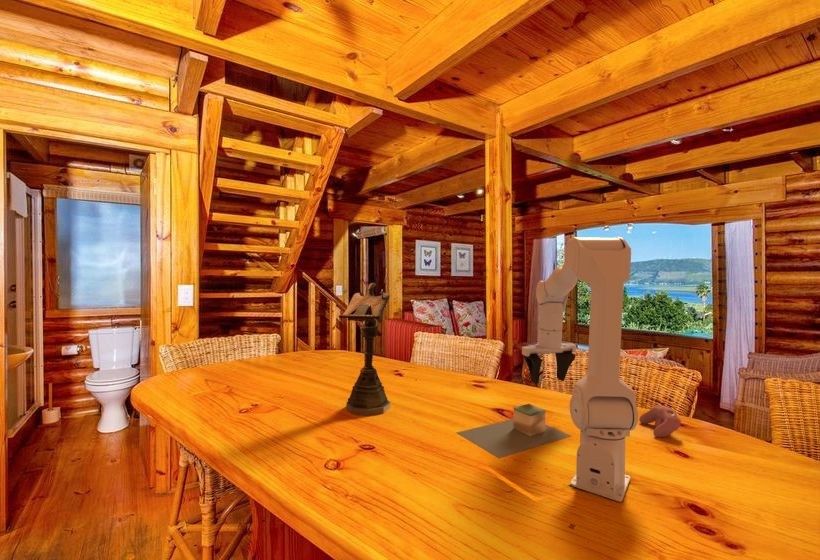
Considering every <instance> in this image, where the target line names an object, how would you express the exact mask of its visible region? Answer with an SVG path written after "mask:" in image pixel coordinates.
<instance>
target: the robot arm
mask: <svg viewBox="0 0 820 560" xmlns="http://www.w3.org/2000/svg"><path fill="white" fill-rule="evenodd" d="M564 247H565V248H564V256H563V257H564V263H563V265H562V266H557V267H556V268H555V269H554V270H553V271H552V272H551V274H550V275H549V276H548V277H547V279H546V280H538V282H537V284H536V289H535V298H536V301H537V303H538V322H537V323H538V324H537V326H538V328H537V330H538V331H537V343H536V344H530V345H526V346H525V345H524V346H521V355H522V357H523V359H524V361H525V362H526V365H527V368H528V371H529V375H530V376H529V377H530V381H531V382H532V383H533V384H535V385H539V382H540V371H541V367H542V363H543V361H544V360H543V358H540V355H547V354H548V355H550V354H554V355H555V362H556V379H557V380H559V381H561V382H565V379H566V377H567V374H568V371H569V368H570V367H571V365H572V363H573V362H574V360H575V359H576V354H575V353H576V352H577V345H576V344H574V343H572V342H566V343H565V342H564V343H563V342H562V341H563V323H564V322H563V321H564V312H565V311H566V307H567V306H566V305H567V303H568V302H567V301H568V299H569V293H570V292H571V291H572V290H573V289H574V287H575V286H576V285H577V284H578V281H581V282H584V283H586V284H587V285H588V286H589V288H590V304H589V306H590V307H589V309H590V311H589V326H588V327H589V328H588V329H589V331H588V332H589V333H588V355H587V356H588V357H587V358H588V359H587V373H586V374H585V375H584V376H582V377H581V378H580V379H579V380H577V381H576V382H574V384H573V387H572V393H571V394H572V395H571V398H570V401H569V413H570V418H571V421H572V423H573V424H574V425H575V427H576V428H577V429H578V430H579V433H580V435H579V443H580V444H579V446H578V448H577V450H576V463H575V464H576V473H575V475H574V476H573V478H571V481H570V486H571V487H573V488H577V489H580V490H584V491H586V492H588V493H592V494H595V495H599V496H601V497H604V498H607V499H611V500H614V501H616V502H623V500H624V498H625V494H626V492H627V489H628V486H629V484H630V481H631V476H630V475H628V474H626V437H630V436H631V432H632V431H634V430H635V429H636V427H637V426H638V423H639V409H638V406H637V399H636V397H637V396H636V394H637V393H636V392H635V390H633V388H632V387H631V386H630V385H628V384H627V383H626V382H625V381H623V380H622V379H621V378H620V369H621V367H620V366H621V365H620V364H621V345H622V327H623V326H622V325H623V322H622V321H623V308H624V306H623V305H624V304H623V303H624V287H625V286H624V284H625V283H627V282H629V281H630V278H631V275H630V274H631V265H632V264H631V261H632V248H631V247H630V245H629V243H628V242H627V241H626V240H625V239H624V238H623V237H621V236H617V237H577V236H572V237H570V238H569V240H568V241H567V242H566V244H565V246H564Z"/></svg>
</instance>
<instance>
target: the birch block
mask: <svg viewBox="0 0 820 560" xmlns="http://www.w3.org/2000/svg"><path fill="white" fill-rule="evenodd" d="M513 419H514V429H516V430H518V431H520V432H523V433H525V434H527V435H529V436H532V435H535V434H539V433H542V432H545V425H546V409H543V408H541V407H538V406H536V405H532V404H530V403H526V404H521V405H517V406H513Z"/></svg>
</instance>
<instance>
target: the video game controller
mask: <svg viewBox="0 0 820 560" xmlns="http://www.w3.org/2000/svg"><path fill="white" fill-rule="evenodd" d="M638 422H640V423H641V424H642V425H647V424H651V423H654V427H655V428H654V430H653V431H652V433H653V435H654V436H655V438H666V437H667V436H670V435H671V434H673V433H674V432H675V431H677V430H678V429H679V428H680V427H681V424H682V421H681V418H680V417H679V416H678V413H677V412H676V411H675V410H674V409H673V408H670V407H669V406H666V405H660V404H659V403H658V404H657V405H654V406H653V407H652V408H650V409H649V410H648V411H646V412H644V413H642V414H641V415H640V417H639V418H638Z"/></svg>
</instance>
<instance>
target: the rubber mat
mask: <svg viewBox="0 0 820 560" xmlns="http://www.w3.org/2000/svg"><path fill="white" fill-rule="evenodd" d="M455 433H456V434H458V435H459V436H461V437H463V438H464V439H466V440H467V441H469V442H471V443H473V444H474V445H476V446H477V447H479V448H481V449H482V450H485V452H486V451H487V452H488V453H490V454H491V455H493V456H495V457H497V458H498V459H501V458H505V457H507V456H511V455H515V454H517V453H521V452H525V451H527V450H531V449H534V448H538V447H540V446H544V445H547V444H551V443H553V442H557V441H560V440H564V439H567V438H570V437H572V435H571V434H569V433H566V432H564V431H562V430H559V429H556V428H555V427H552V426H550V425H547V424H545V432H542V433H539V434H535V435H532V436H529V435H527V434H525V433H523V432H520V431H518V430H516V429H514V418H511V419H506V420H502V421H497V422H495V423H490V424H485V425H482V426H478V427H474V428H469V429H466V430H460V431H457V432H455Z"/></svg>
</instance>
